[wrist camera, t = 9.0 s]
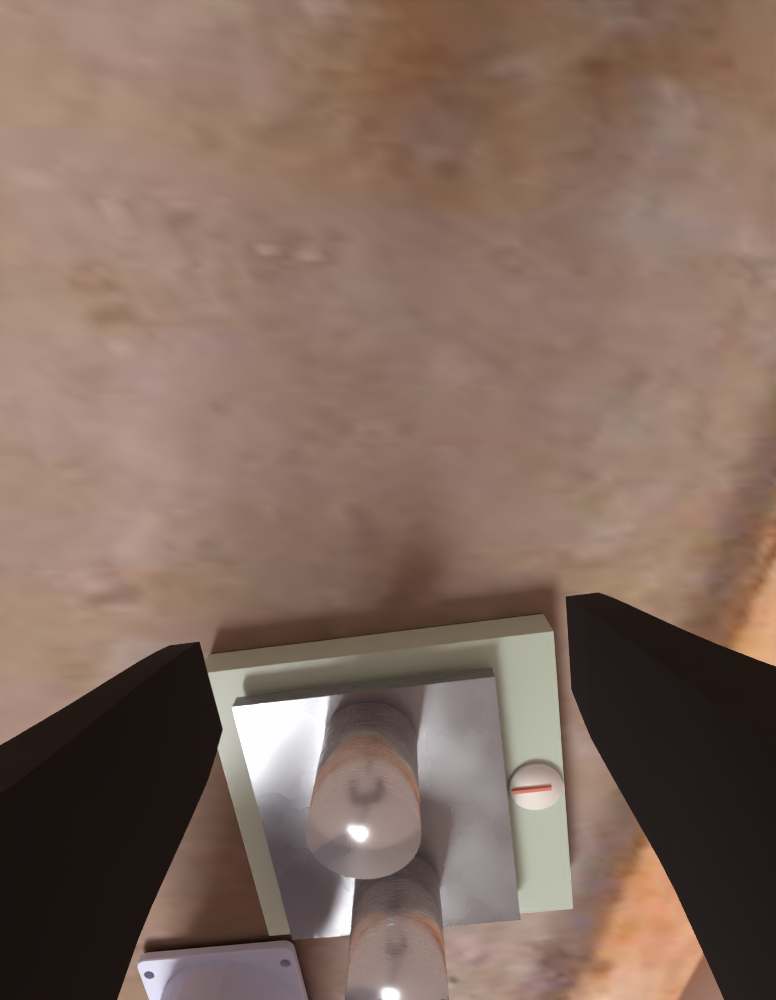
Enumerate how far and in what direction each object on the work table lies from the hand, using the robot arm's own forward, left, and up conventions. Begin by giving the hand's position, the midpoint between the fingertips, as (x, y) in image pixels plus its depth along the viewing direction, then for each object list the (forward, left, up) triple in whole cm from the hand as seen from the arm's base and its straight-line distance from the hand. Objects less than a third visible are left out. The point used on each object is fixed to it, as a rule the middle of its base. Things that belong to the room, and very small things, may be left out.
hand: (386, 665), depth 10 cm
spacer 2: (-16, +2, -8) cm, 17 cm away
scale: (-12, +2, -10) cm, 16 cm away
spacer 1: (-8, +2, -8) cm, 11 cm away
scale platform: (-12, +2, -9) cm, 15 cm away
